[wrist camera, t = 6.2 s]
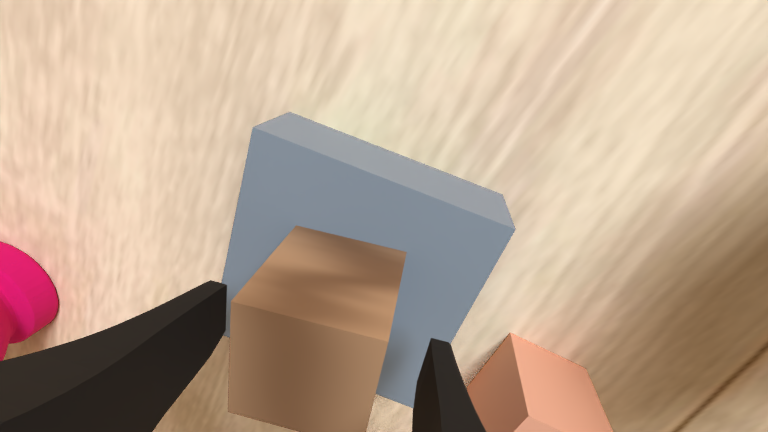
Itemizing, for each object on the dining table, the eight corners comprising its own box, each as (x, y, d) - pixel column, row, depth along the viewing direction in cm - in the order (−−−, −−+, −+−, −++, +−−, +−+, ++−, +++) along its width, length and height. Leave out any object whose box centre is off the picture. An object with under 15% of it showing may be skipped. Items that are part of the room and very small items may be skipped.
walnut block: (406, 251, 15) (388, 341, 10) (385, 339, 17) (361, 448, 12) (296, 225, 15) (231, 301, 11) (287, 314, 17) (227, 411, 12)
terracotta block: (585, 367, 20) (625, 460, 16) (536, 418, 22) (560, 515, 17) (509, 331, 20) (528, 415, 15) (467, 385, 22) (472, 475, 17)
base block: (501, 191, 17) (515, 229, 14) (419, 347, 22) (413, 408, 18) (293, 110, 17) (252, 127, 14) (251, 283, 22) (211, 330, 18)
